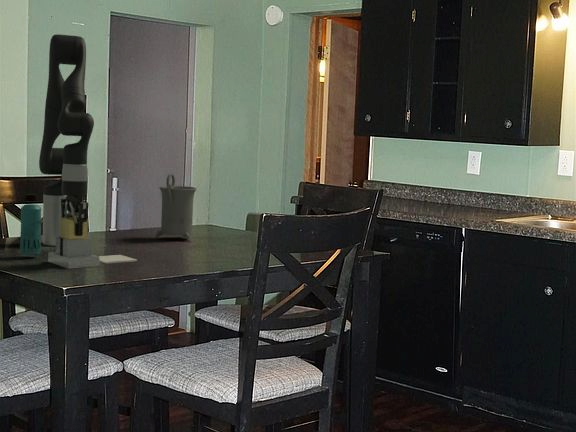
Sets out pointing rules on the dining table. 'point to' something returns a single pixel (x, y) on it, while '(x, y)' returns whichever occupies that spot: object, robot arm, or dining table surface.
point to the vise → (73, 253)
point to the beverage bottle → (30, 226)
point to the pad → (115, 259)
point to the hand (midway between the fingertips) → (73, 234)
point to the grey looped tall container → (176, 209)
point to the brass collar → (72, 229)
